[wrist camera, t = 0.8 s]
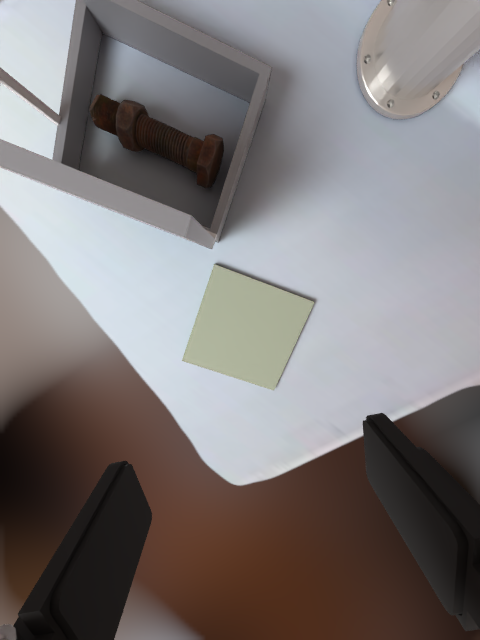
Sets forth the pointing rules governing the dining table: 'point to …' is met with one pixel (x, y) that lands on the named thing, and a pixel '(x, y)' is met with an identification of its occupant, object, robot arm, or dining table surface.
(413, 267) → the dining table surface
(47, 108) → the case
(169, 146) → the bolt
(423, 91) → the robot arm
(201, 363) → the mat
